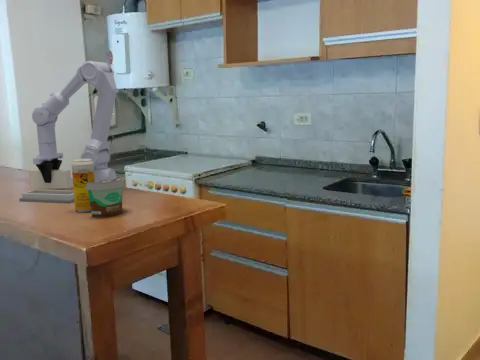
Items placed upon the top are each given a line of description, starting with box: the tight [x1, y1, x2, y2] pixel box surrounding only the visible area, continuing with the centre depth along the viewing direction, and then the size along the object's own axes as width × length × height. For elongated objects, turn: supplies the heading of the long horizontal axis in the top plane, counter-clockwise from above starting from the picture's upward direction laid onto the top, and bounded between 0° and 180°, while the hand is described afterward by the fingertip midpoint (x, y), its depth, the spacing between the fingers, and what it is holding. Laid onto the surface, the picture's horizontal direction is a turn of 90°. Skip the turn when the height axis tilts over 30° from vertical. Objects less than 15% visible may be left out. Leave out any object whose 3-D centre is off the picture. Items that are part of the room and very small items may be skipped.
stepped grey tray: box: [18, 188, 75, 204], centre depth 161 cm, size 18×9×2 cm, turn 77°
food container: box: [86, 175, 126, 218], centre depth 140 cm, size 12×6×10 cm, turn 148°
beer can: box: [71, 158, 95, 213], centre depth 144 cm, size 6×6×15 cm
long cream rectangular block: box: [29, 168, 73, 189], centre depth 172 cm, size 14×3×6 cm, turn 77°
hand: (50, 181), depth 172 cm, fingers closed on long cream rectangular block, 3 cm apart
